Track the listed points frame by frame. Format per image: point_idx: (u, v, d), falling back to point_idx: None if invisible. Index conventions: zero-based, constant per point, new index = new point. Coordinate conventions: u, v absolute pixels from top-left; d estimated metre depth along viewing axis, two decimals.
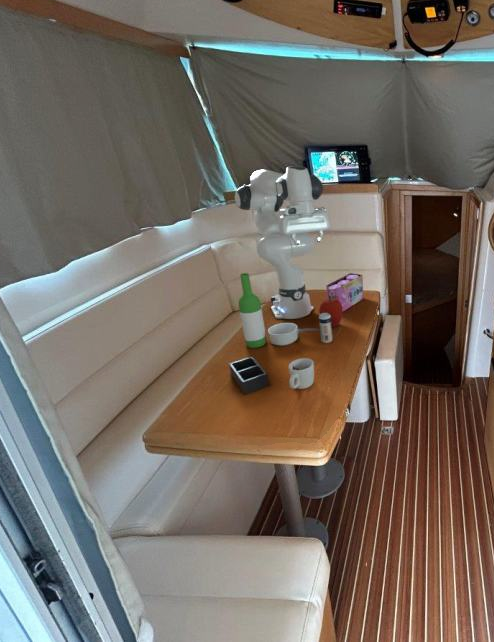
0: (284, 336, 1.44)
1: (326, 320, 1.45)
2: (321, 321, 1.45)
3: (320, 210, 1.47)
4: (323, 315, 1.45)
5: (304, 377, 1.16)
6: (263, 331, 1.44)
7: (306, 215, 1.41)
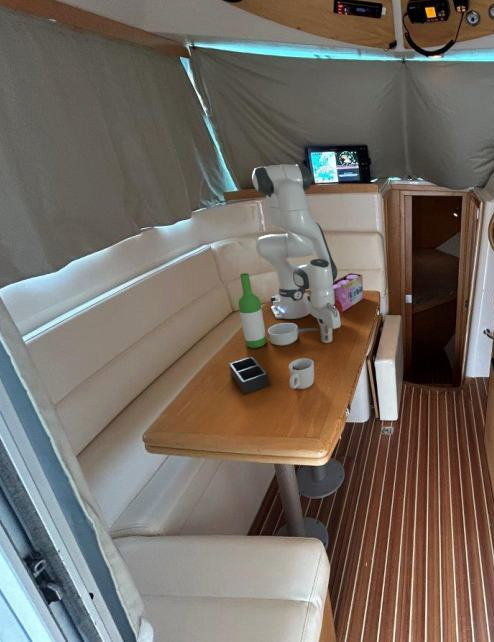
0: (284, 336, 1.44)
1: None
2: (321, 321, 1.45)
3: (331, 308, 1.39)
4: None
5: (304, 377, 1.16)
6: (263, 331, 1.44)
7: (316, 307, 1.43)
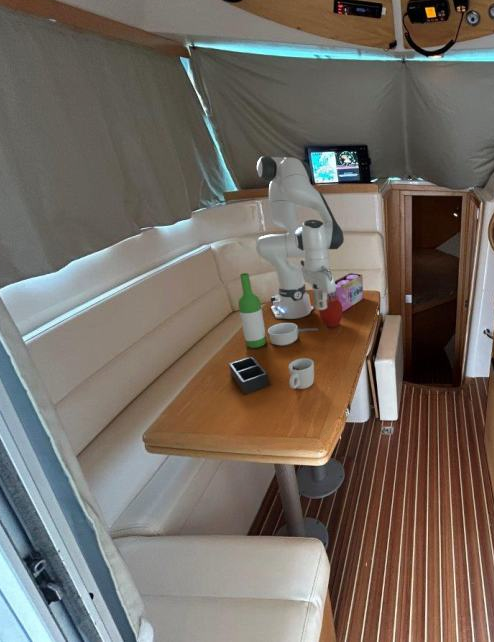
0: (284, 336, 1.44)
1: None
2: (315, 286, 1.38)
3: (325, 271, 1.32)
4: None
5: (304, 377, 1.16)
6: (263, 331, 1.44)
7: (309, 271, 1.36)
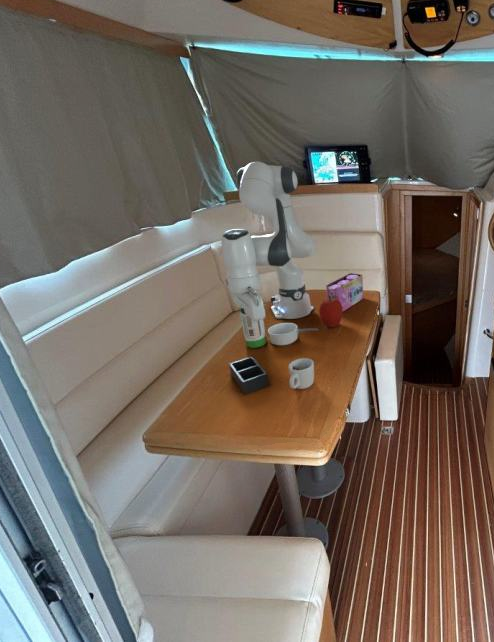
0: (284, 336, 1.44)
1: None
2: (243, 311, 1.12)
3: (251, 293, 1.06)
4: None
5: (304, 377, 1.16)
6: (263, 331, 1.44)
7: (234, 292, 1.10)
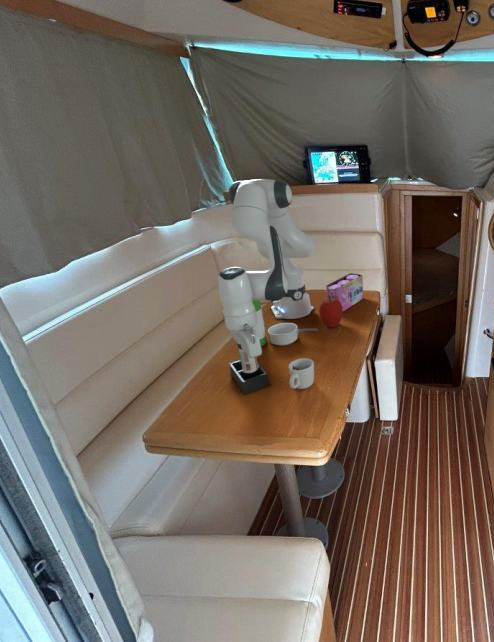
0: (284, 336, 1.44)
1: None
2: (239, 346, 1.13)
3: (247, 331, 1.08)
4: None
5: (304, 377, 1.16)
6: (263, 331, 1.44)
7: None
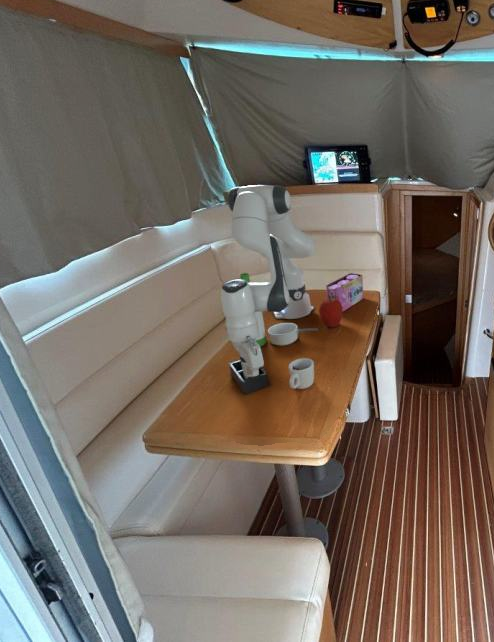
0: (284, 336, 1.44)
1: None
2: (242, 359, 1.15)
3: (250, 343, 1.09)
4: None
5: (304, 377, 1.16)
6: (263, 331, 1.44)
7: None
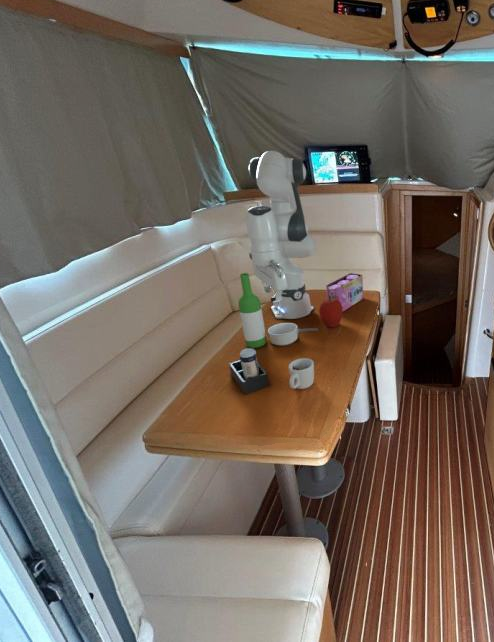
0: (284, 336, 1.44)
1: (248, 359, 1.15)
2: (242, 359, 1.15)
3: (274, 266, 1.14)
4: (245, 352, 1.16)
5: (304, 377, 1.16)
6: (263, 331, 1.44)
7: (258, 266, 1.18)
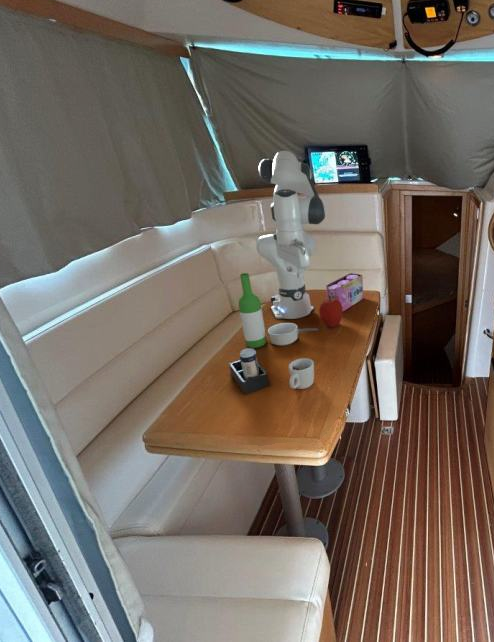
0: (284, 336, 1.44)
1: (248, 359, 1.15)
2: (242, 359, 1.15)
3: (298, 244, 1.23)
4: (245, 352, 1.16)
5: (304, 377, 1.16)
6: (263, 331, 1.44)
7: (282, 245, 1.27)
